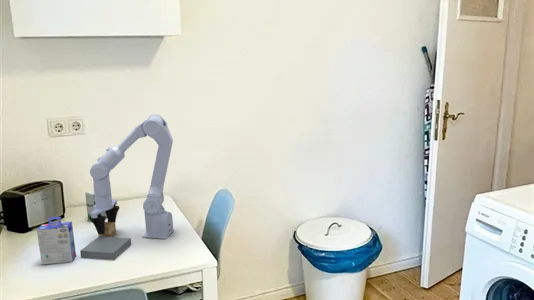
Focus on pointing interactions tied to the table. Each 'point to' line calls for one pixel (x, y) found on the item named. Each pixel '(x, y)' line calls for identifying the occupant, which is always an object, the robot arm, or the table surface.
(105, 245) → the gray square plate
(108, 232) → the wooden block
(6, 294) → the table surface
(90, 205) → the white cardboard box
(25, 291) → the table surface
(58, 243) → the ink cartridge box
